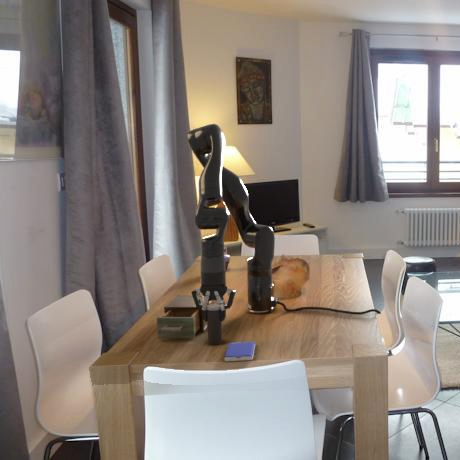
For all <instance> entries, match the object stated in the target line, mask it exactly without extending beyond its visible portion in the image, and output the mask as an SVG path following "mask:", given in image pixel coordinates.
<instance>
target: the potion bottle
mask: <svg viewBox="0 0 460 460" xmlns="http://www.w3.org/2000/svg"><path fill="white" fill-rule="evenodd" d="M226 252H227V248H226V246H225V245H224V257H225V265H226V269H225V272H228V270H229V269H228V268H229V264H230V260H231V255H229V254H225V253H226Z"/></svg>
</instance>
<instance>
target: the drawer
mask: <svg viewBox="0 0 460 460" xmlns="http://www.w3.org/2000/svg"><path fill="white" fill-rule="evenodd" d="M156 327H157V329H156V331H157V339H195V338H196V333H198V332H197V331H198V329H199V328H200V327H201V315H200V310H169V311H168V312H166V313H164V314H163V315H162V316H157V317H156Z"/></svg>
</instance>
